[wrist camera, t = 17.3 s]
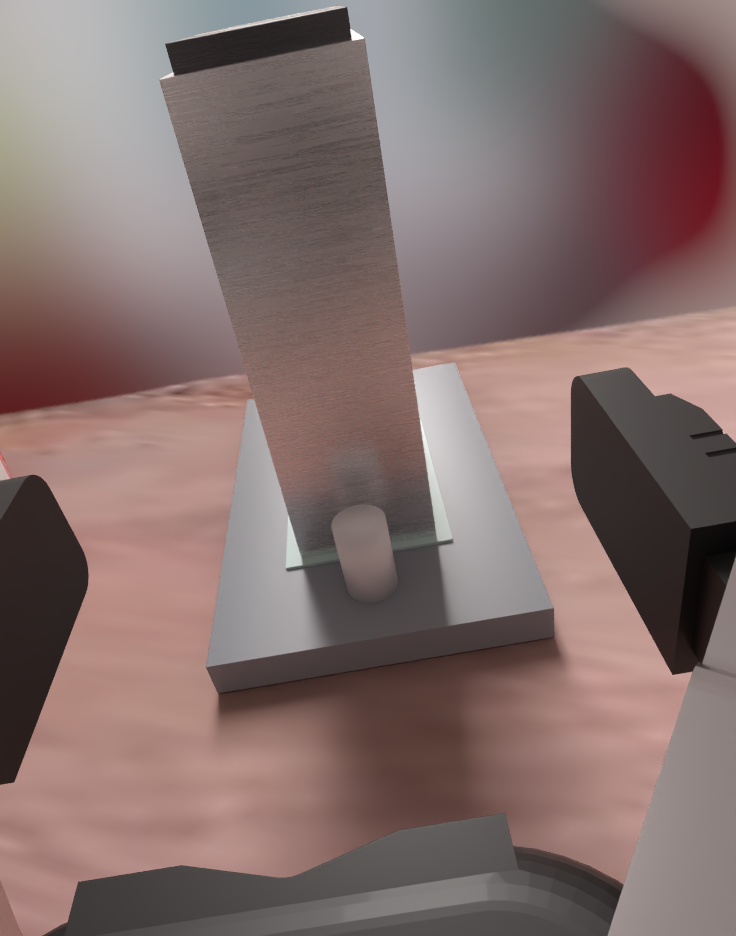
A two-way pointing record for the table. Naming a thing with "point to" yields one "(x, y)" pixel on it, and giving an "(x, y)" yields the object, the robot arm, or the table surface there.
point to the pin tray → (432, 576)
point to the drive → (306, 261)
